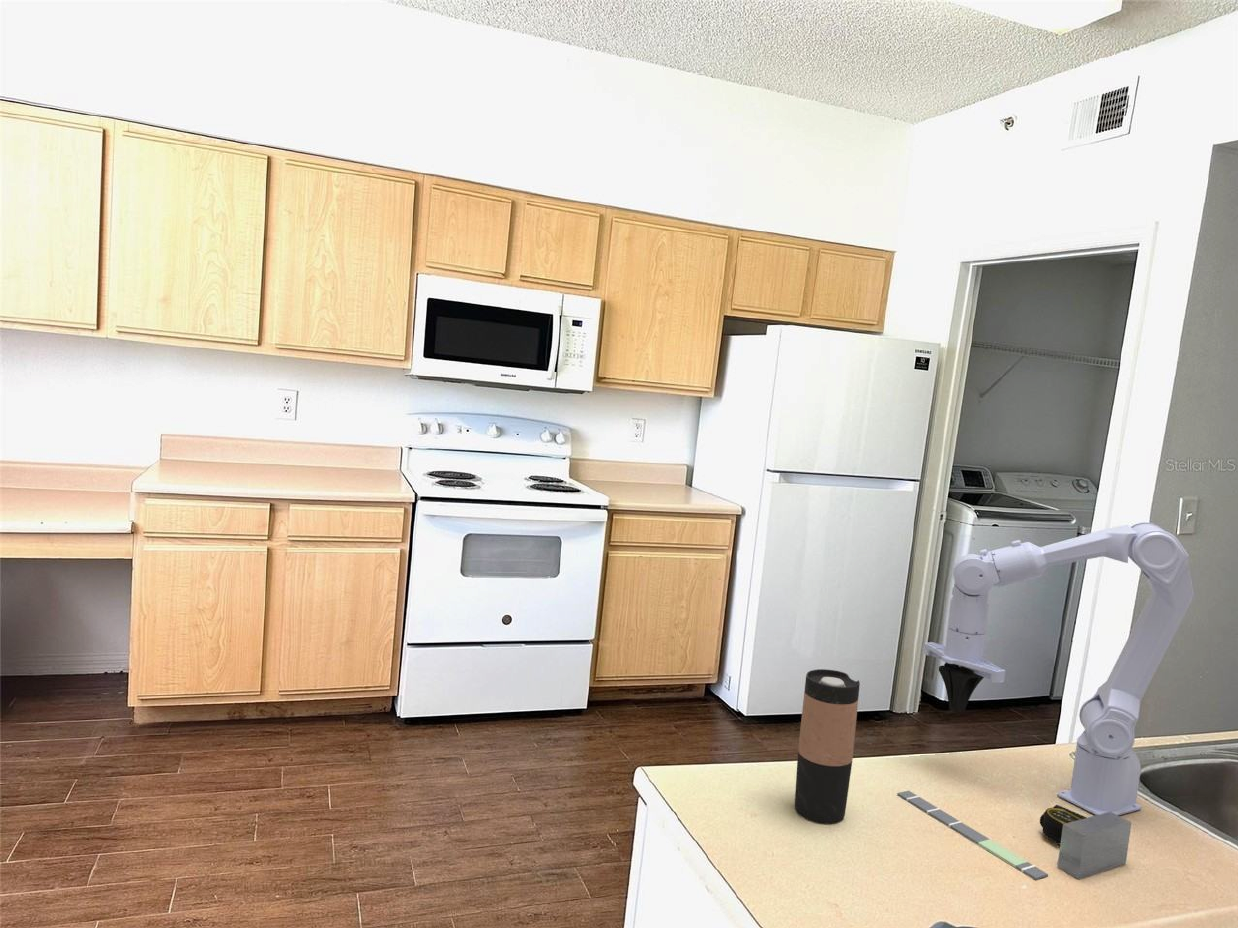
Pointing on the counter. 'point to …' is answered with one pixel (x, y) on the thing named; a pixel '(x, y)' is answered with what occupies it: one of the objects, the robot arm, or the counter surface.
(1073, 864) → the charcoal grey brick
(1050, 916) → the counter surface
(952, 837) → the counter surface
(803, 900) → the counter surface
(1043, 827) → the tape measure
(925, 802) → the scale strip
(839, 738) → the travel mug
